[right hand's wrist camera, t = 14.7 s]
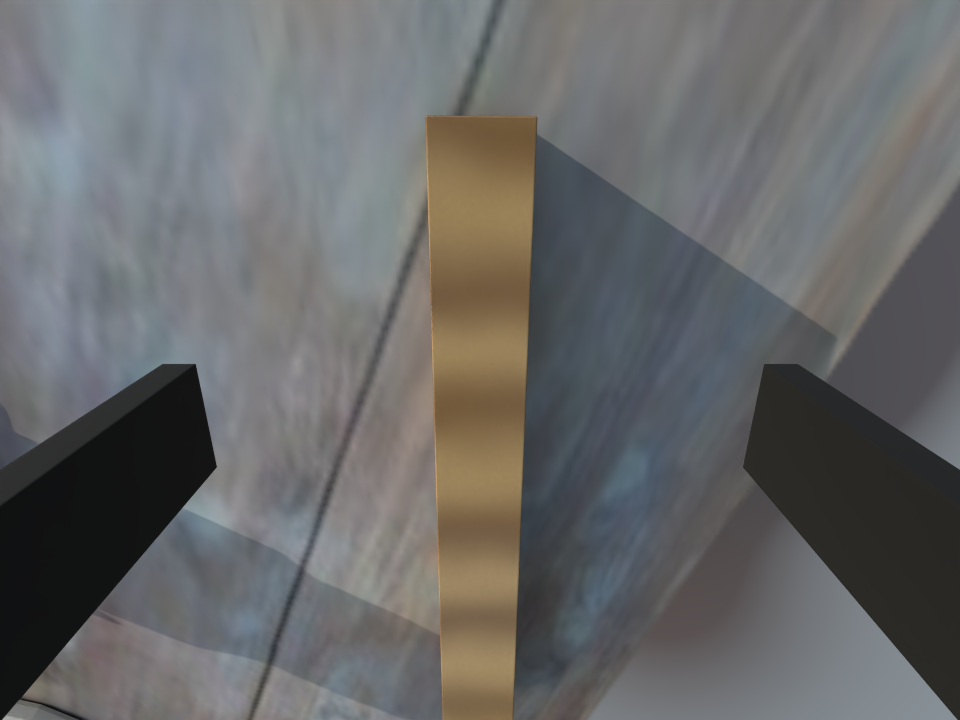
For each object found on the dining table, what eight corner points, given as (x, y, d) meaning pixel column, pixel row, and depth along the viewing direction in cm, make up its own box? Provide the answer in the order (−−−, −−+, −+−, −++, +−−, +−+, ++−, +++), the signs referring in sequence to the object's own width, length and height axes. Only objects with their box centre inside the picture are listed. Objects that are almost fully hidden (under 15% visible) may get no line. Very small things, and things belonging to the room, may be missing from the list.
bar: (437, 124, 34) (425, 115, 26) (524, 124, 34) (537, 116, 27) (449, 691, 52) (444, 780, 45) (506, 691, 52) (510, 780, 45)
